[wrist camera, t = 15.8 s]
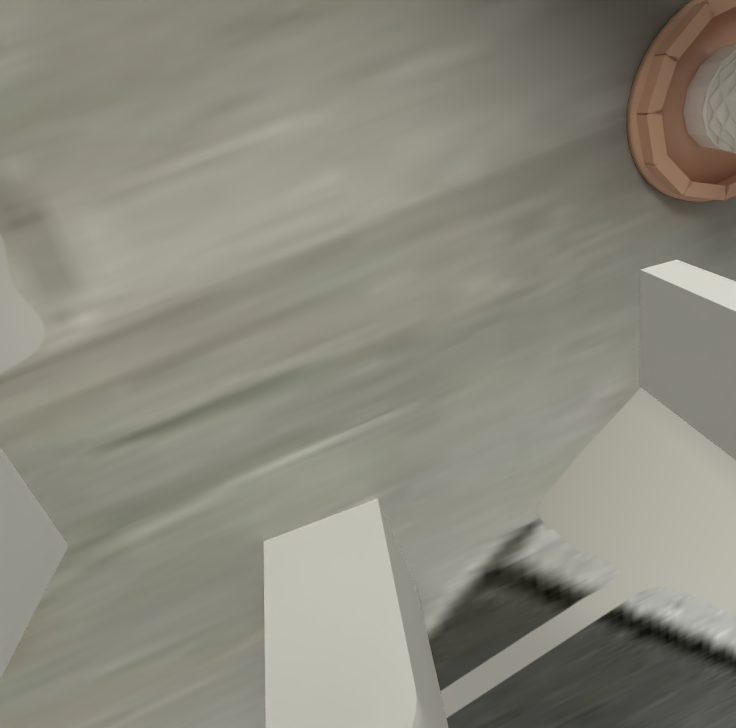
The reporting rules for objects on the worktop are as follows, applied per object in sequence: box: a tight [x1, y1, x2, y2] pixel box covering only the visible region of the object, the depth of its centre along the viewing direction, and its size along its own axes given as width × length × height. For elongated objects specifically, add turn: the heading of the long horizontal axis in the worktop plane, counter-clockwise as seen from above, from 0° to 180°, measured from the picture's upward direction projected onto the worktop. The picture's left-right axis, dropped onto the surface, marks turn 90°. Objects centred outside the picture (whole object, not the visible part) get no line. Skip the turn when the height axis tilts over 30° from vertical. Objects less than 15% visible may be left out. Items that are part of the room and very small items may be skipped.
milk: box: [264, 499, 448, 728], centre depth 40 cm, size 12×12×26 cm
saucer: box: [627, 0, 736, 202], centre depth 36 cm, size 14×14×2 cm
